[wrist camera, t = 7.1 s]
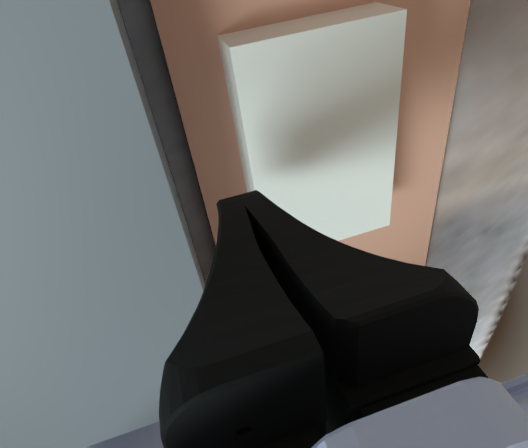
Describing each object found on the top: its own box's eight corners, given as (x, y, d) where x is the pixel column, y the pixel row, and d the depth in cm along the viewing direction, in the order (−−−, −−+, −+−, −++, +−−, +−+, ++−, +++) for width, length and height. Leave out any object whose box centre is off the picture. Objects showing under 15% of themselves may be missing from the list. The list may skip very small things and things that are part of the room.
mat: (420, 268, 25) (423, 272, 24) (237, 327, 23) (239, 332, 23) (508, -276, 11) (519, -282, 11) (86, -237, 10) (85, -244, 9)
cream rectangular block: (267, 262, 17) (255, 236, 19) (389, 225, 18) (368, 202, 20) (229, 47, 12) (216, 35, 13) (407, 9, 13) (375, 2, 14)
